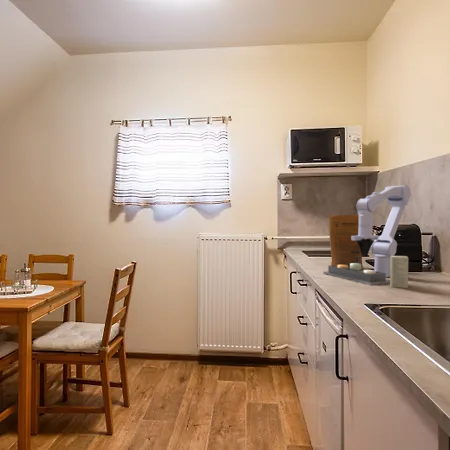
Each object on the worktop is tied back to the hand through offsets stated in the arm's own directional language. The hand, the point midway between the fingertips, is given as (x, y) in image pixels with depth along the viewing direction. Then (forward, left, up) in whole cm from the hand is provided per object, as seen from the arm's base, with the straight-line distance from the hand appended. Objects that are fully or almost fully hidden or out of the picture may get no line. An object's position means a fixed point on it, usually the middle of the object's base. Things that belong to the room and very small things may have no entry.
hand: (364, 256), depth 162 cm
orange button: (+3, -10, -9) cm, 14 cm away
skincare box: (0, +18, -10) cm, 21 cm away
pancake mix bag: (-18, -29, -10) cm, 36 cm away
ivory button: (+3, +6, -9) cm, 11 cm away
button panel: (+3, -2, -10) cm, 11 cm away
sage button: (+3, -2, -7) cm, 8 cm away
